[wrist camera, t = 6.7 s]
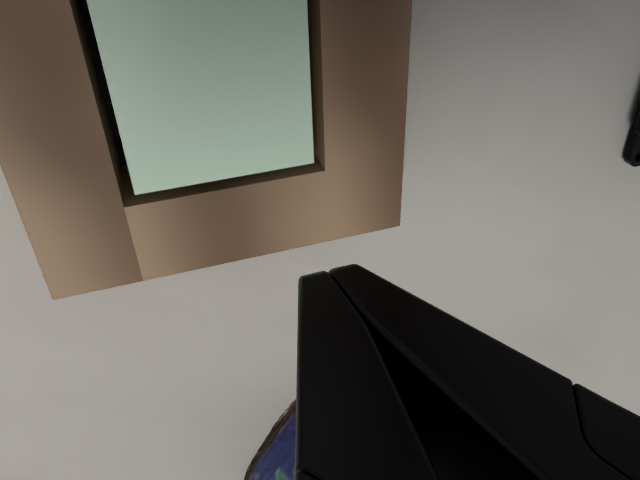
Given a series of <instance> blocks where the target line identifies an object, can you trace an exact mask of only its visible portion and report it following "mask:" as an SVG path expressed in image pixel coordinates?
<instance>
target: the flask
mask: <svg viewBox="0 0 640 480" xmlns="http://www.w3.org/2000/svg"><path fill="white" fill-rule="evenodd" d="M295 449H296V400H295V402H293V403H292V404H291V406H290V408H289V409H288V410H286V411H285V412H284V414H283V415H282V416H281V417H280V419H279V421H278V423H277V424H275V426H274V428H273V429H272V433H271V434H270V435H269V436H268V437H267V438H266V440H265V442H264V443H263V445H262V447H261V448H260V449H259V451H258V453H257V454H256V456H255V457H254V460H252V463H251V464H250V466H249V467H248V469H247V472H246V477H245V480H295V474H296V471H295Z"/></svg>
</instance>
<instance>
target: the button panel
mask: <svg viewBox="0 0 640 480" xmlns="http://www.w3.org/2000/svg"><path fill="white" fill-rule="evenodd" d="M411 7H412V0H307V11H308V34H309V57H310V80H311V103H312V126H313V148H314V163H312V164H306V165H300V166H295V167H289V168H284V169H278V170H272V171H267V172H261V173H256V174H250V175H244V176H239V177H233V178H228V179H222V180H217V181H211V182H205V183H200V184H194V185H189V186H183V187H177V188H172V189H166V190H161V191H155V192H149V193H144V194H138V195H135V193H134V189H133V185H132V181H131V177H130V173H129V169H128V165H127V164H126V165H120V162H119V158H118V154H117V150H116V147H115V143H114V139H113V135H112V131H111V127H110V123H109V119H108V115H107V111H106V108H105V104H104V100H103V96H102V92H101V88H100V84H99V80H98V76H97V72H96V68H95V65H94V61H93V57H92V53H91V49H90V45H89V41H88V37H87V33H86V29H85V26H84V22H83V18H82V14H81V10H80V6H79V2H78V0H0V165H1V168H2V170H3V173H4V175H5V178H6V181H7V183H8V186H9V188H10V191H11V193H12V196H13V199H14V201H15V204H16V206H17V209H18V212H19V214H20V217H21V219H22V222H23V224H24V227H25V230H26V232H27V235H28V237H29V240H30V243H31V245H32V248H33V250H34V253H35V255H36V258H37V261H38V263H39V266H40V268H41V271H42V274H43V276H44V279H45V281H46V284H47V286H48V289H49V292H50V294H51V297H52V299H53V300H56V299H61V298H65V297H70V296H74V295H79V294H84V293H88V292H93V291H98V290H102V289H107V288H112V287H116V286H121V285H126V284H130V283H135V282H140V281H144V280H149V279H154V278H158V277H163V276H168V275H172V274H177V273H182V272H186V271H191V270H196V269H200V268H205V267H210V266H214V265H219V264H224V263H228V262H233V261H238V260H242V259H247V258H252V257H256V256H261V255H266V254H270V253H275V252H280V251H284V250H289V249H294V248H298V247H303V246H308V245H312V244H317V243H322V242H326V241H331V240H336V239H340V238H345V237H350V236H354V235H359V234H364V233H368V232H373V231H378V230H382V229H387V228H392V227H396V226H400V213H401V194H402V176H403V157H404V138H405V120H406V101H407V82H408V63H409V45H410V26H411Z"/></svg>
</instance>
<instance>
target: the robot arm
mask: <svg viewBox="0 0 640 480" xmlns="http://www.w3.org/2000/svg"><path fill="white" fill-rule="evenodd" d="M624 161H625V162H626V163H628V164H630V165H632V166H640V103H639V106H638V110H637V113H636V116H635V120H634V123H633V127H632V130H631V134H630V137H629V140H628V144H627V147H626V151H625V154H624ZM295 471H296V474H295V480H640V416H638V415H636V414H634V413H633V412H631V411H629V410H627V409H625V408H623V407H621V406H619V405H617V404H615V403H613V402H611V401H609V400H607V399H605V398H604V397H602V396H600V395H598V394H596V393H594V392H592V391H591V390H589V389H587V388H585V387H583V386H581V385H580V384H574V385H573V384H572V381H571V380H570V379H568V378H566V377H564V376H562V375H561V374H559V373H557V372H555V371H553V370H551V369H550V368H548V367H546V366H544V365H542V364H540V363H538V362H537V361H535V360H533V359H531V358H529V357H527V356H526V355H524V354H522V353H520V352H518V351H516V350H514V349H513V348H511V347H509V346H507V345H505V344H503V343H502V342H500V341H498V340H496V339H494V338H492V337H490V336H489V335H487V334H485V333H483V332H481V331H479V330H478V329H476V328H474V327H472V326H470V325H468V324H466V323H465V322H463V321H461V320H459V319H457V318H455V317H454V316H452V315H450V314H448V313H446V312H444V311H442V310H441V309H439V308H437V307H435V306H433V305H431V304H429V303H428V302H426V301H424V300H422V299H420V298H418V297H417V296H415V295H413V294H411V293H409V292H407V291H405V290H404V289H402V288H400V287H398V286H396V285H394V284H393V283H391V282H389V281H387V280H385V279H383V278H381V277H380V276H378V275H376V274H374V273H372V272H370V271H369V270H367V269H365V268H363V267H361V266H359V265H356V264H351V265H347V266H342V267H338V268H334V269H331V270H330V271H329V272H325V271H321V272H316V273H312V274H308V275H303V276H301V277H300V278H299V284H298V339H297V394H296V449H295Z"/></svg>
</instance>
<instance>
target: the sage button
mask: <svg viewBox="0 0 640 480" xmlns="http://www.w3.org/2000/svg"><path fill="white" fill-rule="evenodd" d="M87 4H88V8H89V12H90V16H91V20H92V24H93V28H94V32H95V36H96V40H97V44H98V48H99V52H100V57H101V61H102V65H103V69H104V73H105V77H106V81H107V85H108V89H109V93H110V97H111V101H112V105H113V109H114V113H115V117H116V121H117V125H118V129H119V133H120V137H121V141H122V145H123V149H124V153H125V157H126V161H127V165H128V169H129V173H130V177H131V181H132V185H133V189H134V193H135V195H138V194H144V193H149V192H155V191H161V190H166V189H172V188H177V187H183V186H189V185H194V184H200V183H205V182H211V181H217V180H222V179H228V178H233V177H239V176H244V175H250V174H256V173H261V172H267V171H272V170H278V169H284V168H289V167H295V166H300V165H306V164H312V163H314V148H313V126H312V103H311V80H310V57H309V34H308V11H307V0H87Z"/></svg>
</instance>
